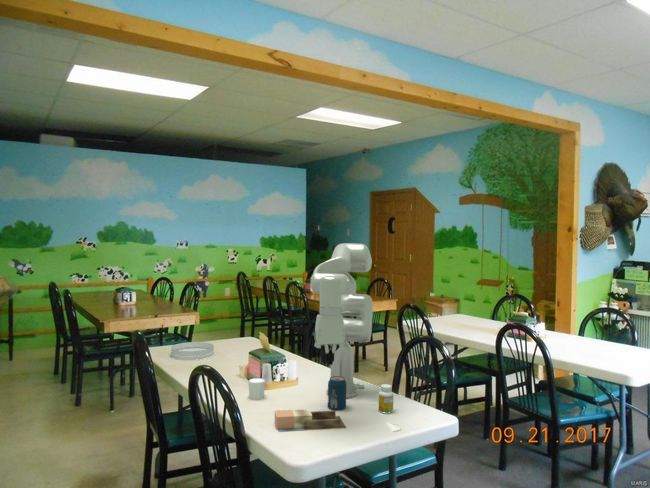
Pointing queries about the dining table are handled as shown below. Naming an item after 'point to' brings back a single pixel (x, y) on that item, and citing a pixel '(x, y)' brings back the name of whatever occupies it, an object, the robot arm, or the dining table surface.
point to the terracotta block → (284, 419)
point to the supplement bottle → (386, 399)
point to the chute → (320, 422)
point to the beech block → (301, 417)
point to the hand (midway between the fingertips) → (329, 363)
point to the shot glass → (256, 388)
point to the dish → (192, 351)
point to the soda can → (337, 393)
